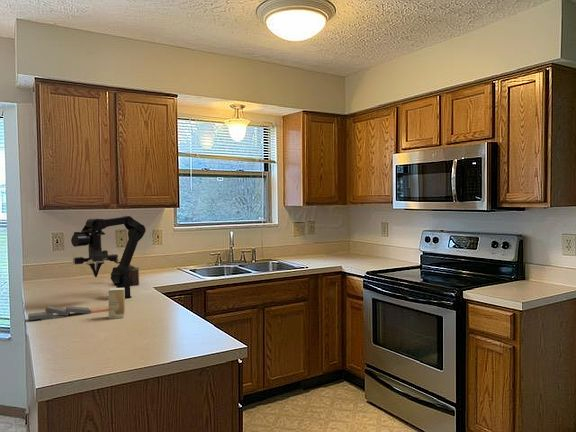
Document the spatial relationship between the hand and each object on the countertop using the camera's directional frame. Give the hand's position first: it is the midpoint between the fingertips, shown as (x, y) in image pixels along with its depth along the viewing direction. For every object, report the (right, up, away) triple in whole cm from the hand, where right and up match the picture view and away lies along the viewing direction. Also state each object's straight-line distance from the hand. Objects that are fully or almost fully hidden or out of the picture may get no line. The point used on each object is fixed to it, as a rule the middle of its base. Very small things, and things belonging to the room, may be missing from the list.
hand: (95, 277), depth 214 cm
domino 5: (+12, -13, -12) cm, 21 cm away
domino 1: (-8, -13, -24) cm, 28 cm away
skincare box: (+20, -14, -25) cm, 35 cm away
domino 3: (-4, -14, -22) cm, 26 cm away
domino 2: (-3, -13, -21) cm, 25 cm away
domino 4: (+4, -13, -16) cm, 21 cm away
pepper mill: (-4, -12, +49) cm, 50 cm away
